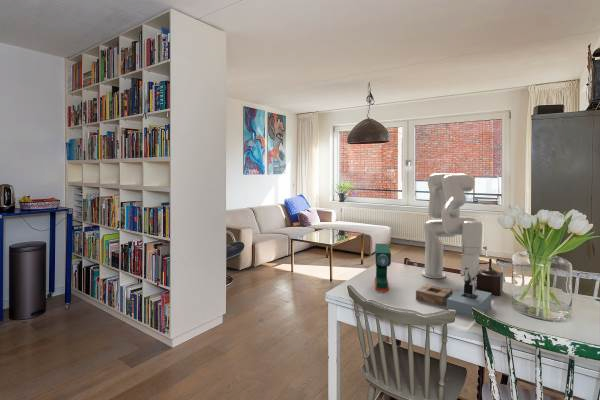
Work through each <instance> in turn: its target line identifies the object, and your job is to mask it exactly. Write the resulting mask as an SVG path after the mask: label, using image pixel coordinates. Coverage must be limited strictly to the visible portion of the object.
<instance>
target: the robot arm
mask: <svg viewBox="0 0 600 400" xmlns="http://www.w3.org/2000/svg"><path fill="white" fill-rule="evenodd" d="M427 187H428V190H429V200H428V202H429V203H428V210H427V211H428V216H429V218H431V220H427V221H425V222H424V224H423V231H424V241H425V242H424V243H425V244H424V245H425V246H424V251H425V252H424V270H423V271H421V276H423V277H424V278H425V277H426V278H427V279H428V278H430V279H436V280H437V279H444V278H446V276H447V275H446V273H445V272H443V270H444V244H443V242H442V241H441V239H440V238H454V237H456V236H461V254H462V256H461V261H460V273H459V275H460V277H463V282H464V283H463V287H464V293H466V294H471V295H472V292H473V285H472V279H474V280H475V291H476V275H478V273H479V271H480V264H479V262H480V256H481V255H482V243H483V241H482V239H483V222H481V221H480V220H477V219H475V218H473V217H460V215H461V214H460V212H461V211H460V208H461V207H463V206H464V205H465V204H466V203H467V197H466V194H465V193H466V192H467V193H468V192H472V191H473V189H474V188H475V180H474V178H473V177H472V175H470V174H465V173H462V172H461V173H460V172H459V173H456V172H455V173H451V172H450V173H448V172H446V173H442V172H441V173H438V172H437V173H432V174H429V176H428V178H427ZM468 279H470V280H468Z"/></svg>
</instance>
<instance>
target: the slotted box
mask: <svg viewBox="0 0 600 400" xmlns="http://www.w3.org/2000/svg"><path fill="white" fill-rule="evenodd" d="M472 307H475V308H476V309H478V310H480V311H482V312H484V314H486V313H487V311H488V310H489V309H490V308H491V307H492V295H491V293H489V292H484V291H480V290H476V291H475V292H474V299H471V298H467V297H465V293H464V286H462V287H460V288H459V289H458V290H456V291H455V292H454V293H452V295H451V296H450V297H449V298H447V303H446V310H448V309H454V310H456V313H455V314H458V315H462V316H466V317H470V318H473V314H472Z"/></svg>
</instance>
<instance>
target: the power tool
mask: <svg viewBox="0 0 600 400" xmlns="http://www.w3.org/2000/svg"><path fill="white" fill-rule="evenodd" d="M374 256H375V268H376V269H375V277H374V287H375V289H374V290H375V291H380V290H382V292H389V291H390V287H389V281H388V267H390V266H391V265H392V261H391V260H392V252H391V249H390V248H389V244H388V243H376V242H375V251H374Z"/></svg>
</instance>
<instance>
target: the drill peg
mask: <svg viewBox="0 0 600 400" xmlns="http://www.w3.org/2000/svg"><path fill="white" fill-rule="evenodd" d="M468 280H470V279H468ZM475 283H476V282H475V280H474V279H472V285H473V292H472V295H471V294H466V293H465V297H467V298H471V299H474V292H475Z"/></svg>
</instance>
